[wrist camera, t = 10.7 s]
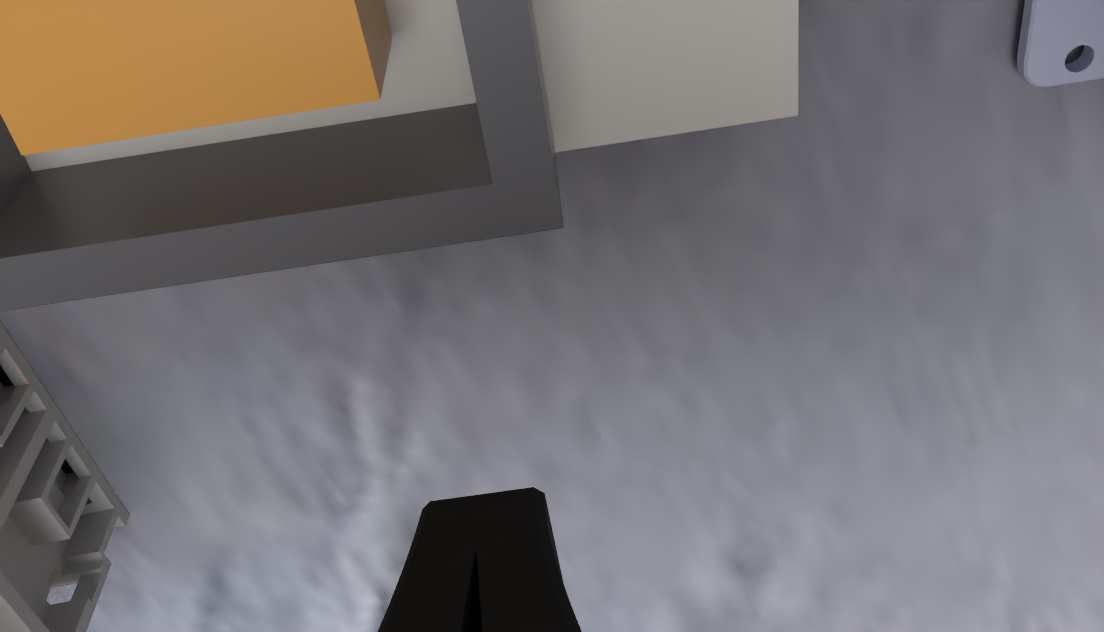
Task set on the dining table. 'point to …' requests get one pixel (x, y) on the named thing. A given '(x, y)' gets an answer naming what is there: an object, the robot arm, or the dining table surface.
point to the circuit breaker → (47, 508)
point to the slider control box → (394, 145)
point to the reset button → (180, 64)
